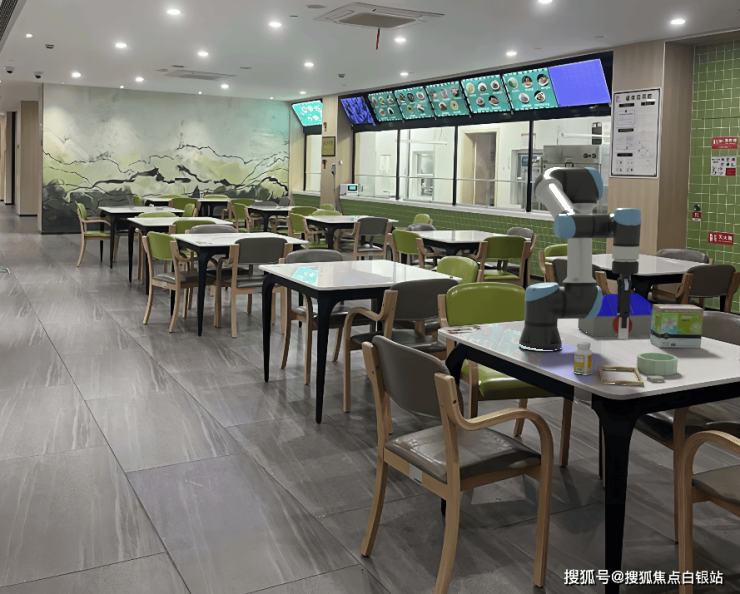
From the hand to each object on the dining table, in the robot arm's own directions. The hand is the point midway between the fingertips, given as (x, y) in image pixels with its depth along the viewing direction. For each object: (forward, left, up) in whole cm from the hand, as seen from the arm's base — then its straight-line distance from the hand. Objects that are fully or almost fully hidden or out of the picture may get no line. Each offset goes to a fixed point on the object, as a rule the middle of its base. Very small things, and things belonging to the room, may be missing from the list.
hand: (621, 336), depth 219 cm
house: (+5, +75, -13) cm, 76 cm away
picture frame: (0, 0, -13) cm, 13 cm away
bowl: (+12, +11, -13) cm, 20 cm away
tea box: (+24, +52, -13) cm, 58 cm away
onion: (0, 0, -1) cm, 1 cm away
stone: (+10, -2, -13) cm, 17 cm away
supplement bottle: (-11, +2, -13) cm, 17 cm away
